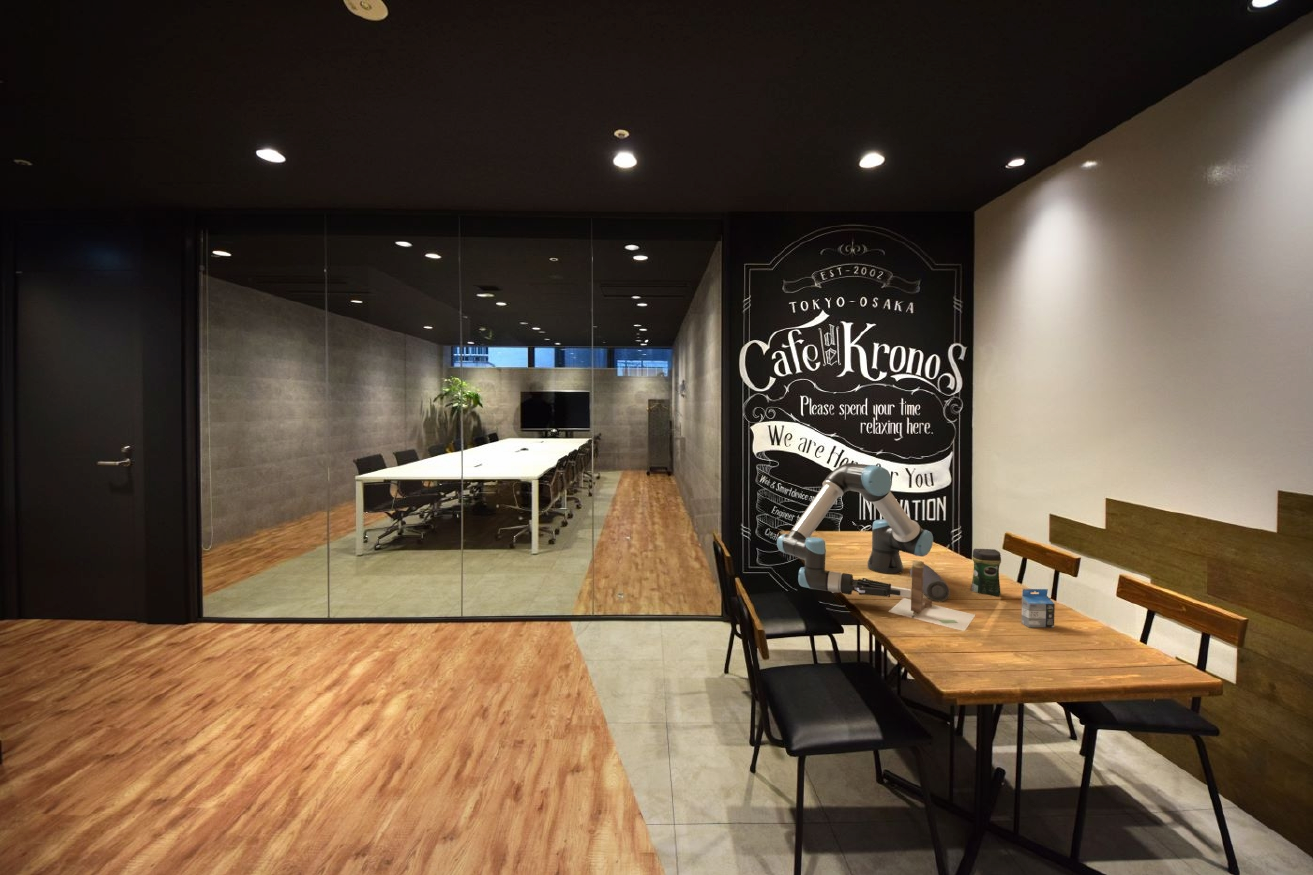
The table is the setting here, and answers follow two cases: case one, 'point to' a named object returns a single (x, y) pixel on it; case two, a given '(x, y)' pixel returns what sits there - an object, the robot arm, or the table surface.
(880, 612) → the table surface
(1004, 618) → the table surface
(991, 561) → the coffee jar
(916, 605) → the wooden l-shaped block
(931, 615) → the white flat sheet
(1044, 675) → the table surface
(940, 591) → the bluetooth speaker
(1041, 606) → the label tape box
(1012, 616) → the table surface
